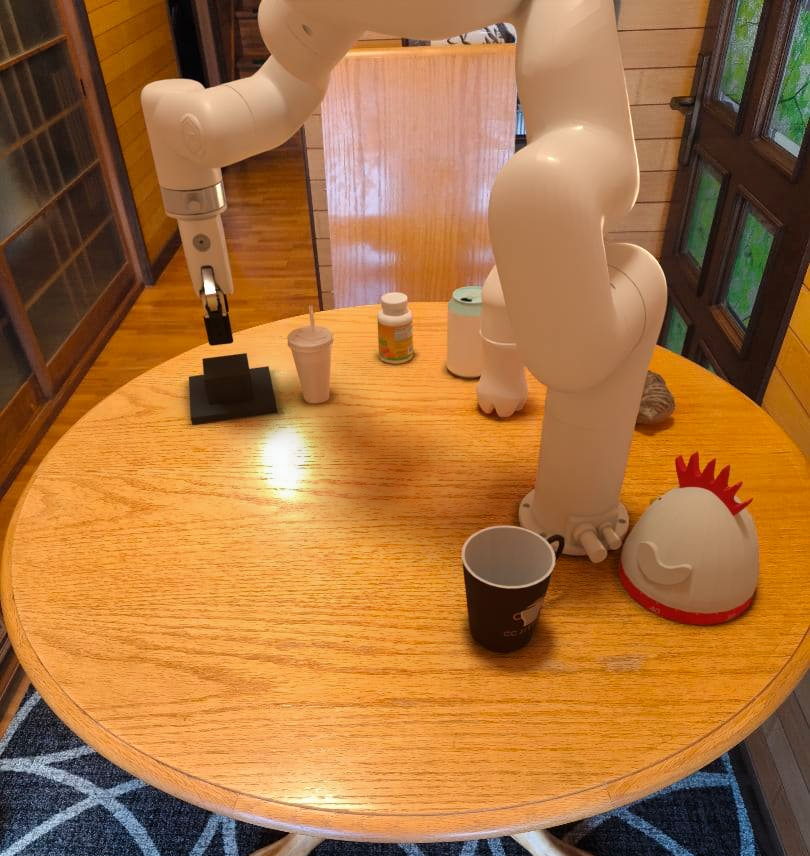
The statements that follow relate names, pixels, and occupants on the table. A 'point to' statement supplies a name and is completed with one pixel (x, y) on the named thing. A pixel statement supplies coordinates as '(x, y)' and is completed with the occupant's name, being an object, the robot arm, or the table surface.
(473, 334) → the can
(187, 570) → the table surface
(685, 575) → the kitchen timer
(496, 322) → the water bottle
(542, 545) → the coffee mug
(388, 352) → the supplement bottle
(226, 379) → the top pad
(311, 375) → the smoothie
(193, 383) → the base pad
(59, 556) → the table surface
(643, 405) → the seashell
